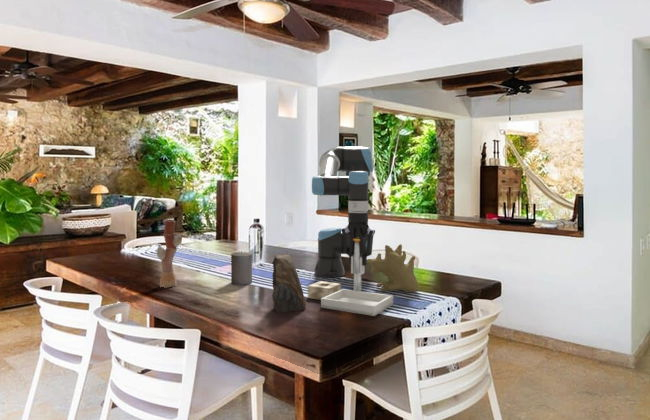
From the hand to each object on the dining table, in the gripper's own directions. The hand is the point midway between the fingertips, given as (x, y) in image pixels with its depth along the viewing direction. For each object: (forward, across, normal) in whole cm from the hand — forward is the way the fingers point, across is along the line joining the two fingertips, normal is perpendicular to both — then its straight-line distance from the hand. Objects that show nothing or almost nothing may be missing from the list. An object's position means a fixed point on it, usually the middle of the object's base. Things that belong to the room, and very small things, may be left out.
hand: (357, 273), depth 185 cm
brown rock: (+13, -21, -16) cm, 29 cm away
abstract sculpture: (+13, -87, -13) cm, 89 cm away
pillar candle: (+13, -64, +9) cm, 66 cm away
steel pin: (+7, 0, 0) cm, 7 cm away
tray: (+13, 0, 0) cm, 13 cm away
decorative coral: (+13, +1, +34) cm, 36 cm away
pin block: (+13, -18, +6) cm, 23 cm away
